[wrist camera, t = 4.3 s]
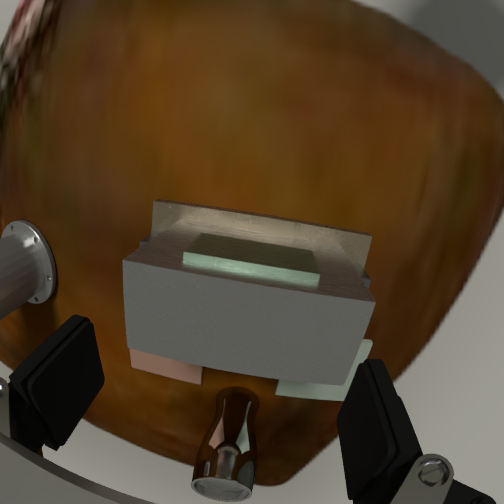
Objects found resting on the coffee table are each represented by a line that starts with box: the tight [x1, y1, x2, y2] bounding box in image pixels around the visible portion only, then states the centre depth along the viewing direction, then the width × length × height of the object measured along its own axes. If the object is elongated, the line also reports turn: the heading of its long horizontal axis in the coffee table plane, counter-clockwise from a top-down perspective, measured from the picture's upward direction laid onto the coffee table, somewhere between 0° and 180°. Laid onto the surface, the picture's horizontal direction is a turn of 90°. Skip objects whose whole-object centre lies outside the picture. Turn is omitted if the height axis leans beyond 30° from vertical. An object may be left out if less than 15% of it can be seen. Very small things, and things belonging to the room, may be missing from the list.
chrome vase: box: [191, 387, 260, 502], centre depth 31 cm, size 7×7×15 cm
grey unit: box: [123, 199, 376, 386], centre depth 25 cm, size 22×10×14 cm, turn 82°
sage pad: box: [275, 339, 373, 401], centre depth 35 cm, size 10×10×1 cm
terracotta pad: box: [130, 348, 203, 385], centre depth 36 cm, size 10×10×1 cm
